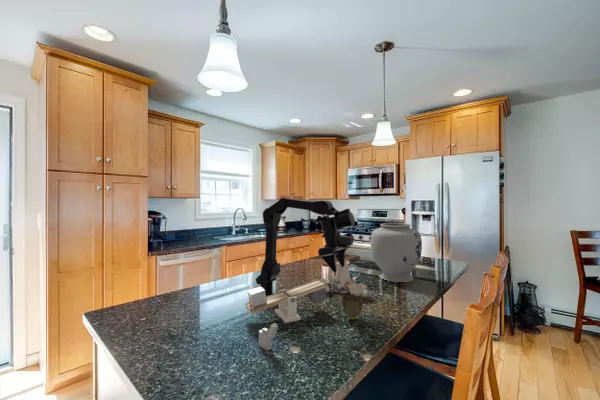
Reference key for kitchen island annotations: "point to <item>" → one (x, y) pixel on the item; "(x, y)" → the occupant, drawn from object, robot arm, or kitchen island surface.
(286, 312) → the pivot stand
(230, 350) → the kitchen island surface
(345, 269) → the chinaware
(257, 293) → the steel block
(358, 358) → the kitchen island surface
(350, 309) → the cup
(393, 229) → the apothecary jar
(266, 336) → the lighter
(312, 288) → the beam
